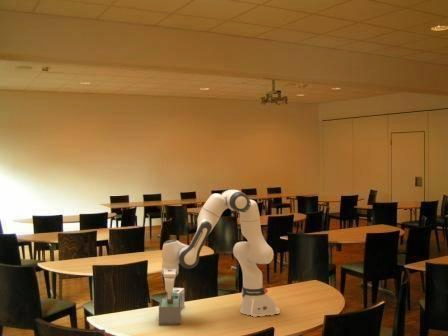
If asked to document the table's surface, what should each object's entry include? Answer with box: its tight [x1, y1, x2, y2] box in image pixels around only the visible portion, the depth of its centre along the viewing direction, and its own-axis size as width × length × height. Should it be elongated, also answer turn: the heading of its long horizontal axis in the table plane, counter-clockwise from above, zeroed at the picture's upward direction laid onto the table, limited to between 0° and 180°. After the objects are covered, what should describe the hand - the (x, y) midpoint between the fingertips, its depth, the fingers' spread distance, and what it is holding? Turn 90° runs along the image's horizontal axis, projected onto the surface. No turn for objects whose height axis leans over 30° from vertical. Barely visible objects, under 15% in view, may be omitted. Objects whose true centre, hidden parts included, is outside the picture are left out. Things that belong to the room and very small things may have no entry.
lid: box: [161, 295, 179, 307], centre depth 242 cm, size 9×13×5 cm
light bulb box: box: [171, 287, 185, 310], centre depth 262 cm, size 11×7×11 cm, turn 168°
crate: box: [158, 298, 182, 326], centre depth 243 cm, size 11×15×9 cm
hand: (169, 296), depth 242 cm, fingers open, 8 cm apart
